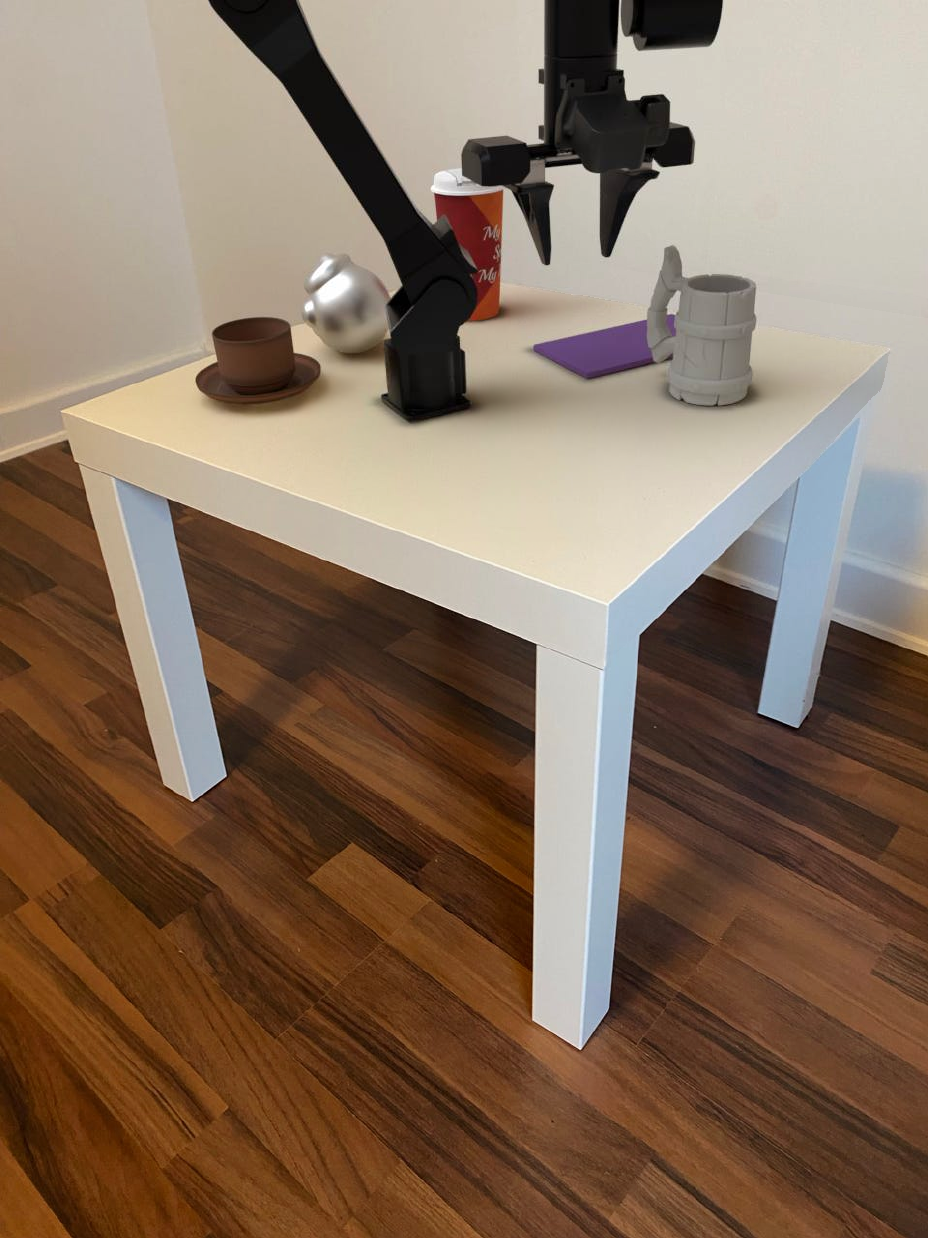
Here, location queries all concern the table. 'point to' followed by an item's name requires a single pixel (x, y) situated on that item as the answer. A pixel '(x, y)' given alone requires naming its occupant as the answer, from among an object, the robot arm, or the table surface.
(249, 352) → the cup and saucer
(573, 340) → the purple rectangular board
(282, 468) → the table surface
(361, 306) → the silver lumpy ball
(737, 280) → the mug
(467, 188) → the coffee cup
